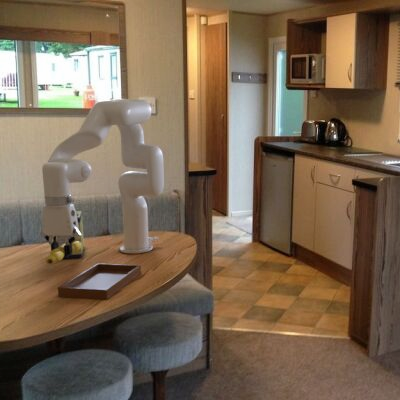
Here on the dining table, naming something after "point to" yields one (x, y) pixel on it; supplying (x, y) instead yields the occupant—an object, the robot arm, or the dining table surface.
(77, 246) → the banana
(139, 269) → the tray
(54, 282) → the dining table surface
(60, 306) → the dining table surface
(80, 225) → the protein box
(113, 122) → the robot arm
